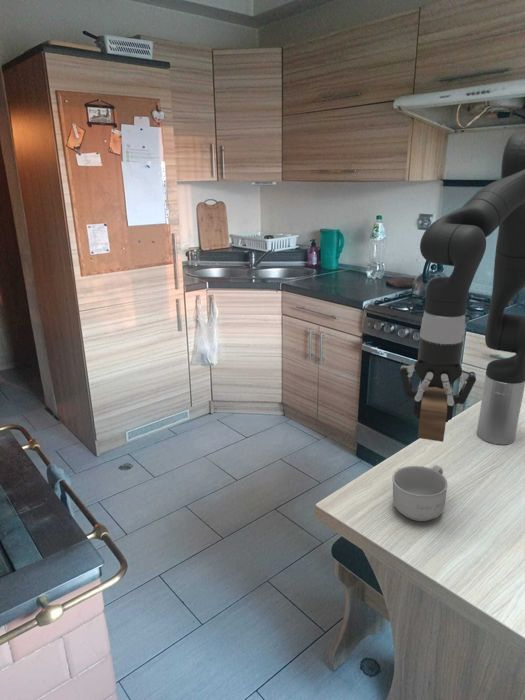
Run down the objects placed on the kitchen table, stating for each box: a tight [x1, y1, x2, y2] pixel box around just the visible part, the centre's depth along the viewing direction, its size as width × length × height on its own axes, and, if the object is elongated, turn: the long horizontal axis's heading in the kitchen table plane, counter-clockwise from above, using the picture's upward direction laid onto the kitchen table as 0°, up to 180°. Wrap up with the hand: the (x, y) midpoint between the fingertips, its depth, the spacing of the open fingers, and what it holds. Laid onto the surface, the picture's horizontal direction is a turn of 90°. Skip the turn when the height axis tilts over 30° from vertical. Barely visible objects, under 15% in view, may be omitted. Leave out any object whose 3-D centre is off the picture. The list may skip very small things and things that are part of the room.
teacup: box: [391, 465, 449, 522], centre depth 103 cm, size 14×11×8 cm
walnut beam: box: [417, 387, 447, 443], centre depth 96 cm, size 14×4×6 cm, turn 160°
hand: (431, 418), depth 96 cm, fingers closed on walnut beam, 4 cm apart
